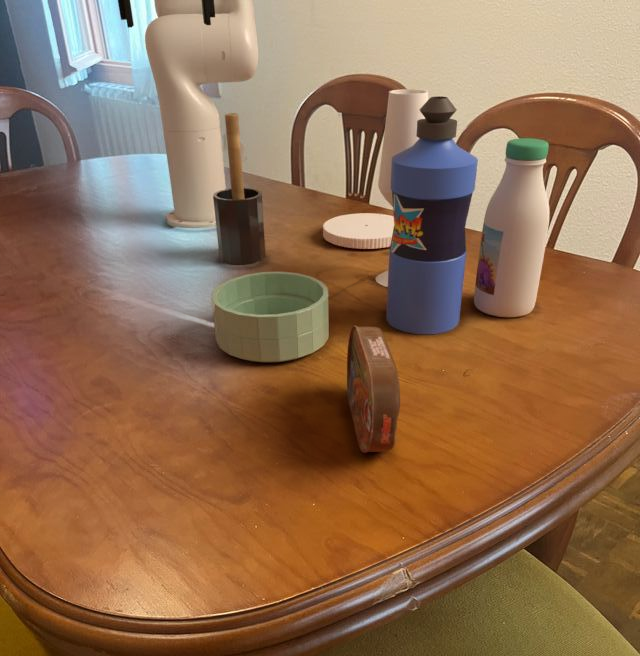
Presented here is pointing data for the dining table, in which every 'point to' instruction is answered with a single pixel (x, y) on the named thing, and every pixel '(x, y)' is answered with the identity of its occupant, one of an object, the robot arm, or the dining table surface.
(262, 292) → the bowl
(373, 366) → the tin
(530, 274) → the milk bottle
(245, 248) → the holder
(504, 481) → the dining table surface
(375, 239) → the plastic lid
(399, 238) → the water bottle
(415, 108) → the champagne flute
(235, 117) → the stick
